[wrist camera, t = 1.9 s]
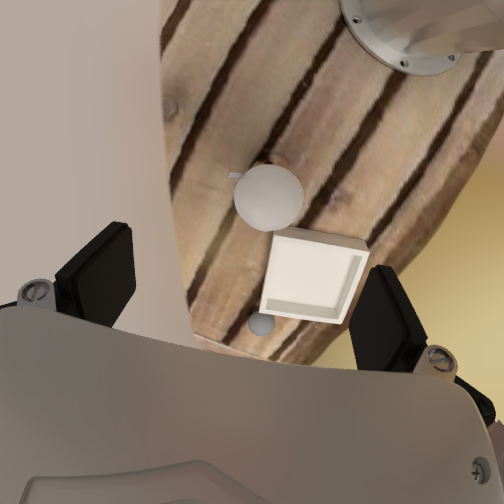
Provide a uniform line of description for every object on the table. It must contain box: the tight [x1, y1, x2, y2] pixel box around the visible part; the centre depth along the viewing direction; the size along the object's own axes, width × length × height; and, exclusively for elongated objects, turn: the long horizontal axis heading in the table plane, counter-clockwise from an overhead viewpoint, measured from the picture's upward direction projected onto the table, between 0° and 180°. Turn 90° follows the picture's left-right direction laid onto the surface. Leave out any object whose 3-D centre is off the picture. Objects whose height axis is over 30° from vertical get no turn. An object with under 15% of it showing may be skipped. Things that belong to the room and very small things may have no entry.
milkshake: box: [226, 154, 304, 231], centre depth 22 cm, size 4×5×10 cm
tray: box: [259, 226, 370, 324], centre depth 30 cm, size 9×9×2 cm
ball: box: [248, 311, 275, 336], centre depth 33 cm, size 3×3×3 cm
